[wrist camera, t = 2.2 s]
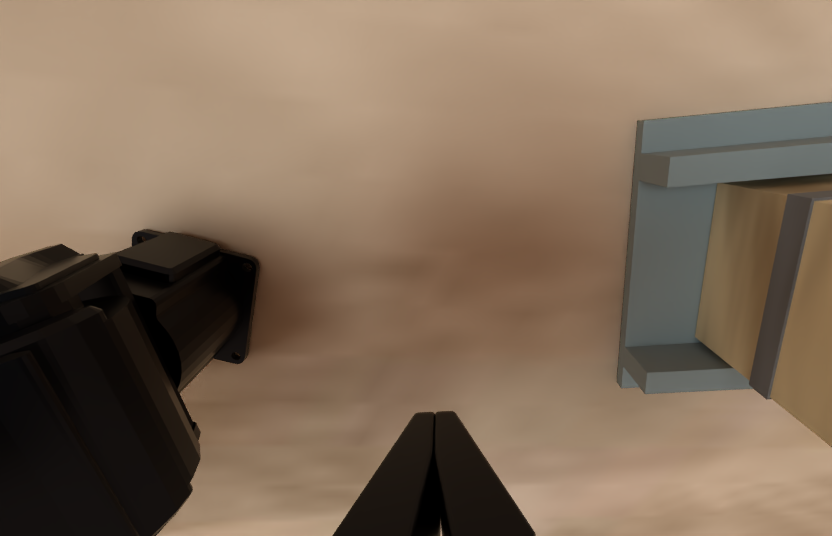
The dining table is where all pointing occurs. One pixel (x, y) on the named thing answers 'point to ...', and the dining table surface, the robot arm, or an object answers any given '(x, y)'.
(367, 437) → the dining table surface
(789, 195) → the crate
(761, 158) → the bay
